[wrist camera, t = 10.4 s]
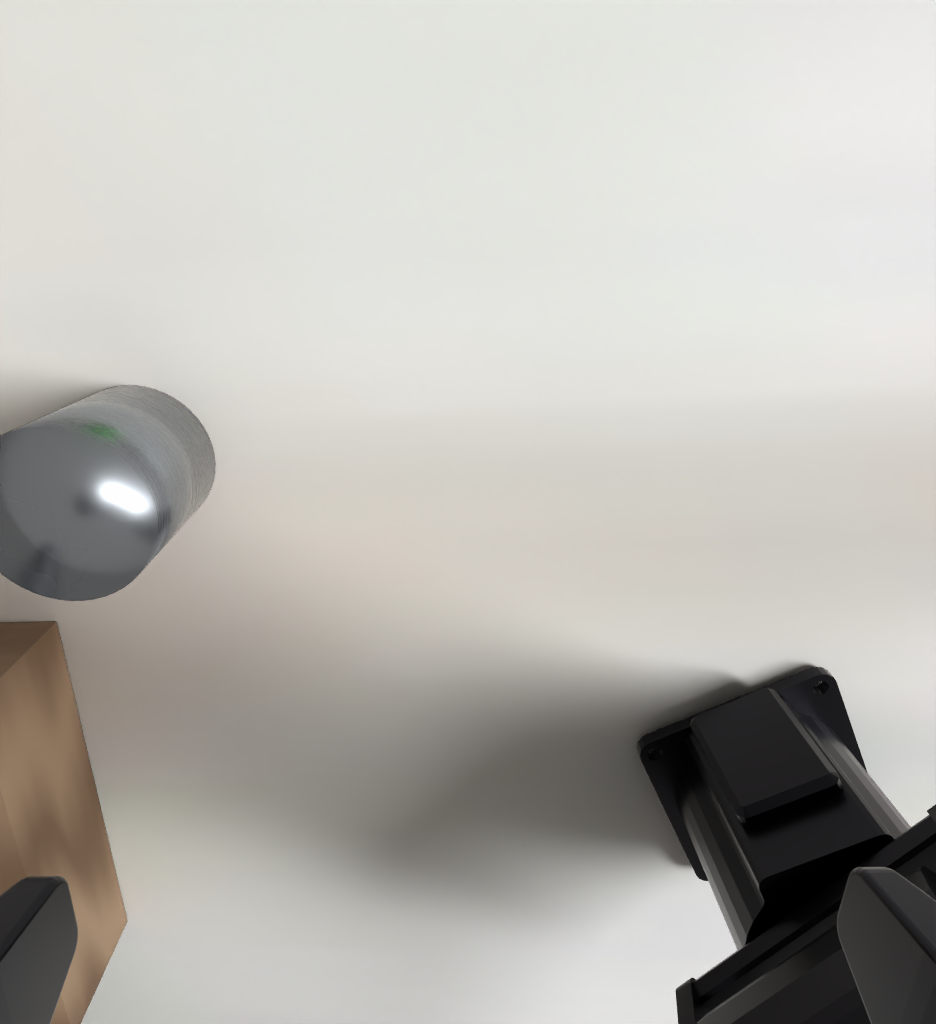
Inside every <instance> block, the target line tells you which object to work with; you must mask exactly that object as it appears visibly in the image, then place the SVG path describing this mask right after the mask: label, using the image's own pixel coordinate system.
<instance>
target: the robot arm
mask: <svg viewBox="0 0 936 1024" xmlns="http://www.w3.org/2000/svg"><path fill="white" fill-rule="evenodd" d="M819 681H822V683H821V684H820V685H819V686H817V687H813V686H814V685H815V684H816V683H817V682H819ZM652 748H659V749H658V750H657V751H655V752H649V750H651V749H652ZM637 751H638V754H639V756H640V759H641V761H642V763H643V765H644V767H645V769H646V772H647V774H648V776H649V778H650V780H651V782H652V784H653V786H654V788H655V790H656V792H657V794H658V796H659V799H660V801H661V803H662V805H663V807H664V809H665V811H666V813H667V815H668V817H669V819H670V821H671V823H672V826H673V828H674V830H675V832H676V834H677V836H678V838H679V840H680V842H681V844H682V846H683V848H684V850H685V853H686V855H687V857H688V859H689V861H690V863H691V865H692V867H693V869H694V871H695V873H696V875H697V876H698V878H699V879H701V880H704V881H709V883H710V886H711V888H712V890H713V893H714V895H715V897H716V900H717V902H718V905H719V907H720V909H721V912H722V914H723V916H724V919H725V921H726V924H727V926H728V928H729V931H730V933H731V935H732V938H733V940H734V943H735V945H736V947H737V951H736V952H735V953H733V954H732V955H730V956H729V957H728V958H726V959H725V960H723V961H722V962H720V963H719V964H718V965H716V966H715V967H713V968H712V969H711V970H709V971H708V972H706V973H705V974H704V975H702V976H701V977H699V978H698V979H694V978H691V979H689V980H688V981H686V982H685V983H684V984H682V985H681V986H679V987H678V988H677V989H676V1001H677V1012H678V1024H936V805H934V806H933V807H932V808H930V809H929V810H927V812H928V813H929V815H928V816H927V817H925V818H924V819H923V820H921V821H920V822H918V823H917V824H916V825H914V826H913V827H910V825H909V824H908V823H907V822H906V820H905V819H904V818H903V817H902V815H901V814H900V813H899V812H898V810H897V809H896V808H895V807H894V805H893V804H892V803H891V802H890V800H889V799H888V798H887V797H886V796H885V794H884V793H883V792H882V791H881V789H880V788H879V787H878V786H877V784H876V783H875V782H874V781H873V779H872V778H871V777H870V776H869V774H868V773H867V770H866V767H865V764H864V761H863V758H862V756H861V753H860V750H859V747H858V744H857V741H856V738H855V735H854V732H853V729H852V726H851V723H850V720H849V717H848V714H847V711H846V708H845V705H844V703H843V700H842V697H841V694H840V691H839V688H838V685H837V682H836V680H835V679H834V677H833V676H832V675H831V674H830V673H829V672H828V671H827V670H826V669H824V668H821V667H814V668H810V669H808V670H805V671H803V672H800V673H798V674H795V675H793V676H790V677H788V678H786V679H783V680H781V681H778V682H776V683H773V684H771V685H768V686H766V687H763V688H761V689H758V690H756V691H753V692H751V693H748V694H746V695H743V696H741V697H739V698H736V699H734V700H731V701H729V702H726V703H724V704H721V705H719V706H716V707H714V708H711V709H709V710H706V711H704V712H701V713H699V714H696V715H694V716H692V717H689V718H687V719H684V720H682V721H679V722H677V723H674V724H672V725H669V726H667V727H664V728H662V729H659V730H657V731H654V732H652V733H649V734H647V735H645V736H644V737H642V738H641V739H640V740H639V742H638V744H637ZM77 941H78V926H77V921H76V917H75V912H74V908H73V903H72V899H71V894H70V890H69V886H68V883H67V881H66V880H65V879H64V878H63V877H61V876H29V877H26V878H24V879H22V880H20V881H18V882H17V883H15V884H14V885H13V886H12V887H10V888H9V889H8V890H7V891H5V892H4V893H3V894H1V895H0V1024H50V1023H51V1020H52V1017H53V1014H54V1011H55V1009H56V1006H57V1003H58V1000H59V997H60V994H61V991H62V988H63V986H64V983H65V980H66V977H67V974H68V971H69V968H70V965H71V963H72V960H73V957H74V954H75V951H76V946H77Z"/></svg>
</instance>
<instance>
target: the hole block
mask: <svg viewBox="0 0 936 1024" xmlns="http://www.w3.org/2000/svg"><path fill="white" fill-rule="evenodd" d="M29 876H61V877H63V878H64V879H65V880H66V881H67V883H68V886H69V890H70V894H71V899H72V903H73V908H74V912H75V917H76V921H77V926H78V941H77V946H76V951H75V954H74V957H73V960H72V963H71V965H70V968H69V971H68V974H67V977H66V980H65V983H64V986H63V988H62V991H61V994H60V997H59V1000H58V1003H57V1006H56V1009H55V1011H54V1014H53V1017H52V1020H51V1023H50V1024H81V1021H82V1019H83V1017H84V1015H85V1013H86V1011H87V1008H88V1006H89V1004H90V1002H91V1000H92V997H93V995H94V993H95V991H96V989H97V986H98V984H99V982H100V980H101V978H102V976H103V973H104V971H105V969H106V967H107V965H108V962H109V960H110V958H111V956H112V954H113V952H114V949H115V947H116V945H117V943H118V941H119V938H120V936H121V934H122V932H123V930H124V927H125V925H126V923H127V917H126V913H125V909H124V904H123V900H122V896H121V892H120V887H119V883H118V879H117V875H116V871H115V866H114V862H113V858H112V854H111V850H110V845H109V841H108V837H107V833H106V828H105V824H104V820H103V816H102V812H101V807H100V803H99V799H98V795H97V790H96V786H95V782H94V778H93V774H92V769H91V765H90V761H89V757H88V753H87V748H86V744H85V740H84V736H83V731H82V727H81V723H80V719H79V715H78V710H77V706H76V702H75V698H74V693H73V689H72V685H71V681H70V677H69V672H68V668H67V664H66V660H65V656H64V651H63V647H62V643H61V639H60V634H59V630H58V626H57V622H25V623H0V895H1V894H3V893H4V892H5V891H7V890H8V889H9V888H10V887H12V886H13V885H14V884H15V883H17V882H18V881H20V880H22V879H24V878H26V877H29Z"/></svg>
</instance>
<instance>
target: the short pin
mask: <svg viewBox="0 0 936 1024" xmlns="http://www.w3.org/2000/svg"><path fill="white" fill-rule="evenodd" d="M214 476H215V455H214V450H213V446H212V443H211V441H210V438H209V436H208V434H207V432H206V430H205V428H204V427H203V425H202V424H201V422H200V421H199V420H198V418H197V417H196V416H195V415H194V414H193V413H192V412H191V411H190V410H189V409H188V408H187V407H186V406H185V405H183V404H182V403H181V402H179V401H178V400H176V399H175V398H173V397H171V396H169V395H167V394H165V393H163V392H161V391H158V390H155V389H152V388H148V387H143V386H136V385H123V386H115V387H111V388H107V389H104V390H102V391H100V392H97V393H95V394H93V395H91V396H88V397H86V398H84V399H82V400H79V401H77V402H75V403H73V404H70V405H68V406H66V407H64V408H61V409H59V410H57V411H55V412H52V413H50V414H48V415H46V416H43V417H41V418H39V419H37V420H35V421H32V422H30V423H28V424H26V425H23V426H21V427H19V428H17V429H14V430H12V431H10V432H8V433H5V434H3V435H1V436H0V573H1V574H2V575H4V576H5V577H6V578H8V579H9V580H11V581H12V582H14V583H15V584H17V585H19V586H21V587H22V588H25V589H27V590H29V591H31V592H33V593H36V594H39V595H42V596H45V597H49V598H54V599H59V600H68V601H84V600H92V599H97V598H101V597H105V596H107V595H110V594H112V593H115V592H117V591H118V590H120V589H122V588H124V587H125V586H127V585H128V584H129V583H130V582H132V581H133V580H134V579H135V578H136V577H137V576H138V575H139V574H140V573H141V571H142V570H143V569H144V568H145V567H146V566H147V565H148V564H149V563H150V561H151V560H152V559H153V558H154V557H155V556H156V555H157V554H158V553H159V551H160V550H161V549H162V548H163V547H164V546H165V545H166V544H167V543H168V541H169V540H170V539H171V538H172V537H173V536H174V535H175V534H176V533H177V531H178V530H179V529H180V528H181V527H182V526H183V525H184V524H185V522H186V521H187V520H188V519H189V518H190V517H191V516H192V515H193V514H194V512H195V511H196V510H197V509H198V508H199V507H200V506H201V505H202V503H203V502H204V501H205V499H206V498H207V496H208V494H209V492H210V490H211V488H212V485H213V482H214Z"/></svg>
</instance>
